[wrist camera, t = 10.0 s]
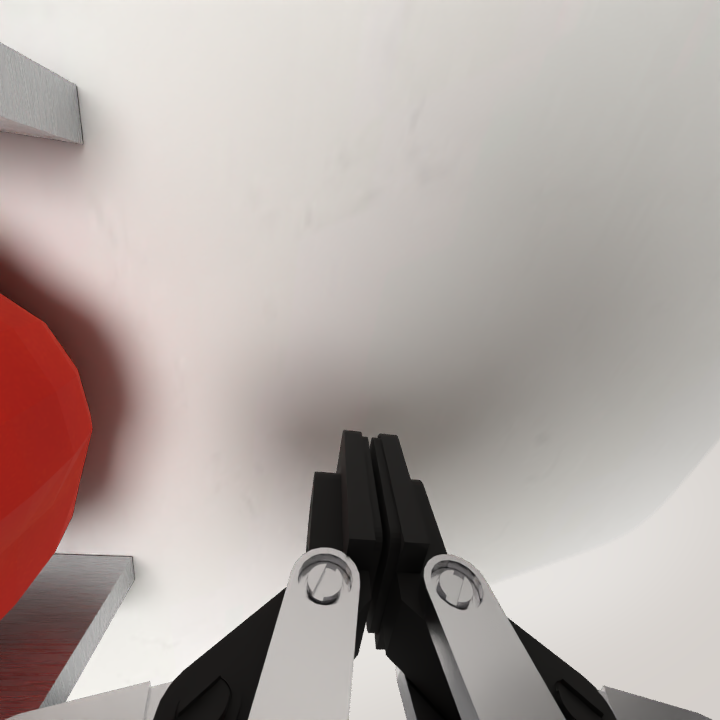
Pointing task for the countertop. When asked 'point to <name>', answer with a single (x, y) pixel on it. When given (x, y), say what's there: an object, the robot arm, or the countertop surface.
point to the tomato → (36, 447)
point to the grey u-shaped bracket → (62, 572)
